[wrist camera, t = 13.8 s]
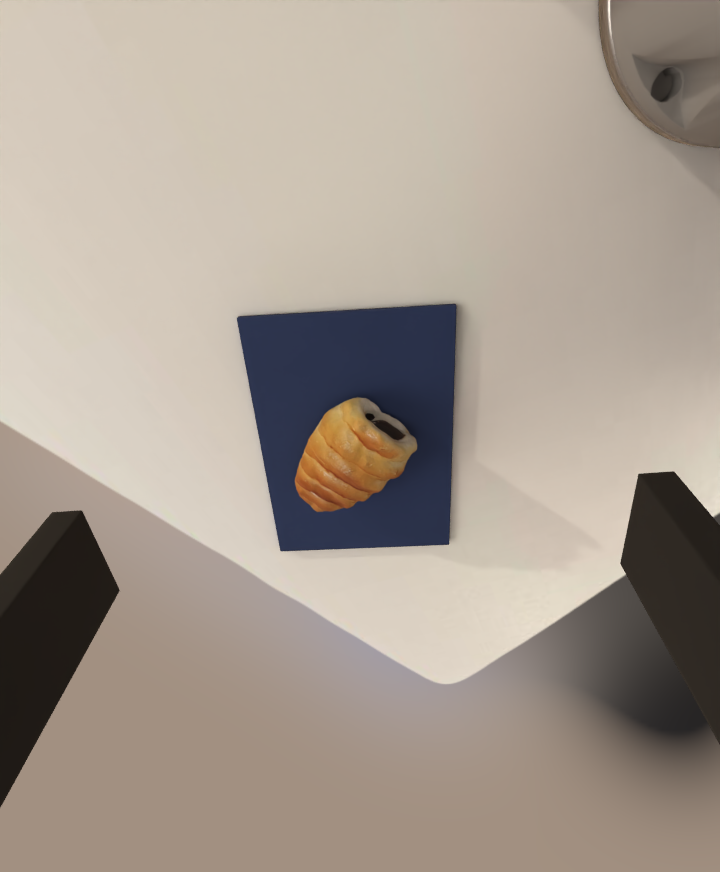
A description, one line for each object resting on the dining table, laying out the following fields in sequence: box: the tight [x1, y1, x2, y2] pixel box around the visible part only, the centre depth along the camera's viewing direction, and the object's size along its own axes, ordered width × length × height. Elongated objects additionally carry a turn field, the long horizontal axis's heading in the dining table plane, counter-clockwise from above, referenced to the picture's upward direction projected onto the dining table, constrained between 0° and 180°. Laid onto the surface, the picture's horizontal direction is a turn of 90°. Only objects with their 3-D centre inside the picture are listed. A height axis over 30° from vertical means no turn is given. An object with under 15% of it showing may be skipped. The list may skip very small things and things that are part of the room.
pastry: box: [295, 397, 417, 512], centre depth 37 cm, size 9×7×4 cm
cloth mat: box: [237, 304, 456, 551], centre depth 39 cm, size 14×20×1 cm
